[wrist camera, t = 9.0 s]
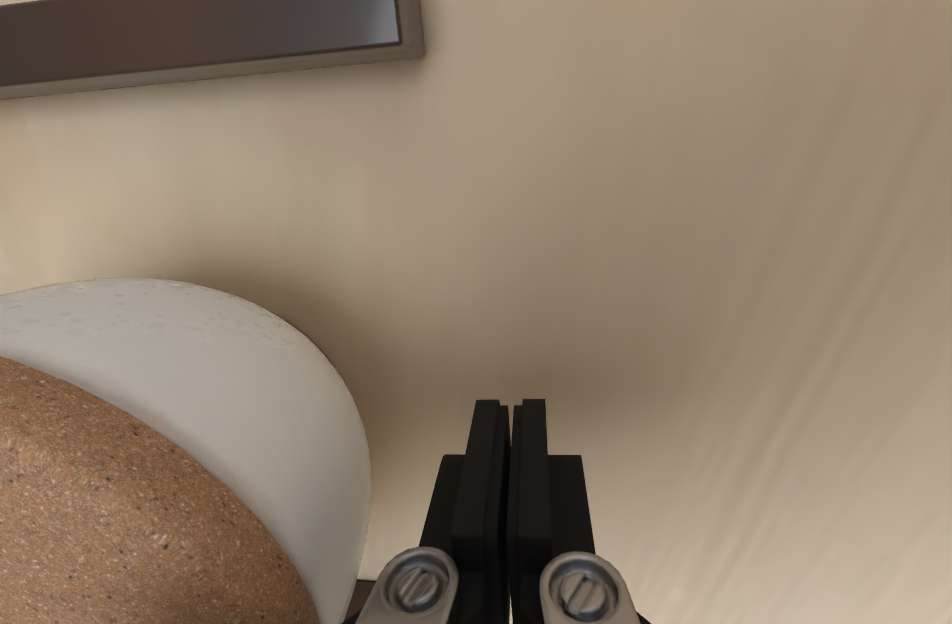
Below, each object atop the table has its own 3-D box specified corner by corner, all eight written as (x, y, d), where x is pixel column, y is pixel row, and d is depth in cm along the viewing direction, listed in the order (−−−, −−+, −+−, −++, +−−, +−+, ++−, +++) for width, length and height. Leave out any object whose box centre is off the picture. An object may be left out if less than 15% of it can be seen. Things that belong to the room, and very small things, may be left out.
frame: (418, -18, 10) (392, -49, 8) (482, 612, 17) (476, 671, 16) (-200, 57, 12) (-331, 47, 10) (97, 588, 20) (52, 636, 18)
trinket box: (53, 193, 13) (-966, 360, 4) (437, 263, 12) (204, 622, 4) (117, 487, 17) (-311, 870, 8) (402, 548, 16) (259, 1020, 8)
